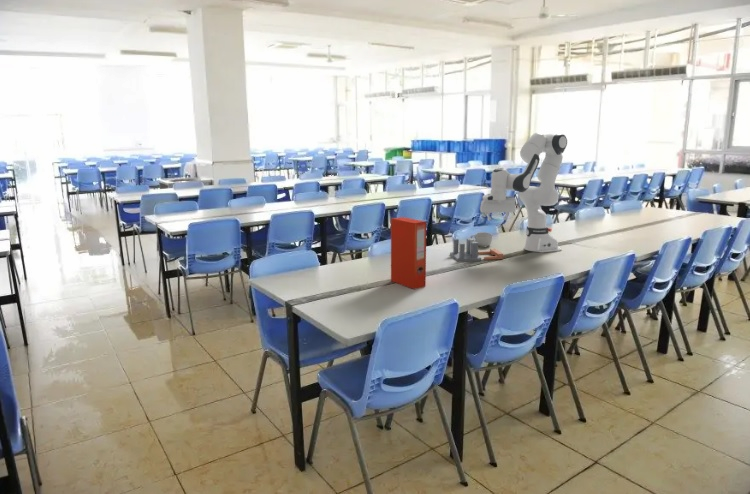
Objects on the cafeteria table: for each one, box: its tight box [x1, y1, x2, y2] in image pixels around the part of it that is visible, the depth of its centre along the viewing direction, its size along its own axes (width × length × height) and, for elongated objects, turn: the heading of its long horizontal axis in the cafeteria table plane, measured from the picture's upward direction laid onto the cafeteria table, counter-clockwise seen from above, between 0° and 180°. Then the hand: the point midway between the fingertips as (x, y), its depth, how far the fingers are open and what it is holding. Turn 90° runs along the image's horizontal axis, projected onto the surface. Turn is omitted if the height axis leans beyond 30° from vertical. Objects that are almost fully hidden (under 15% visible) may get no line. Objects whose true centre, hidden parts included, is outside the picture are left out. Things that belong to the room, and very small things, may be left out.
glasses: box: [478, 248, 504, 261], centre depth 311 cm, size 11×14×3 cm
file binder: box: [390, 216, 427, 290], centre depth 255 cm, size 8×17×32 cm, turn 36°
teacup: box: [469, 231, 493, 247], centre depth 339 cm, size 14×11×8 cm
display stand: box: [449, 237, 482, 262], centre depth 308 cm, size 14×17×11 cm
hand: (497, 220), depth 307 cm, fingers open, 8 cm apart
